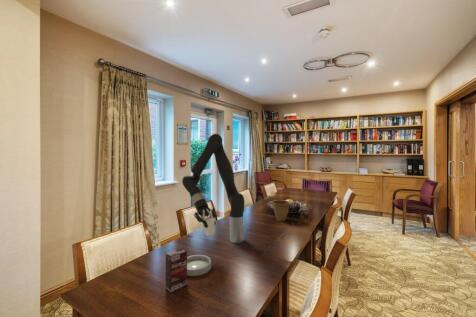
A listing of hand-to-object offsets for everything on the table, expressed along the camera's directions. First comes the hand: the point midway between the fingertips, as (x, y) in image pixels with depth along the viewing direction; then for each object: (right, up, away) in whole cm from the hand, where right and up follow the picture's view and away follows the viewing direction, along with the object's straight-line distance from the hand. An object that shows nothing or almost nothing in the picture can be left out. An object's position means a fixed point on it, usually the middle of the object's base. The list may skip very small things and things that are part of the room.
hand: (210, 226), depth 132 cm
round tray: (-6, -18, -12) cm, 23 cm away
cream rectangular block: (-1, -5, +2) cm, 6 cm away
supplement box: (-12, -19, -28) cm, 36 cm away
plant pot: (+54, -15, +68) cm, 88 cm away
